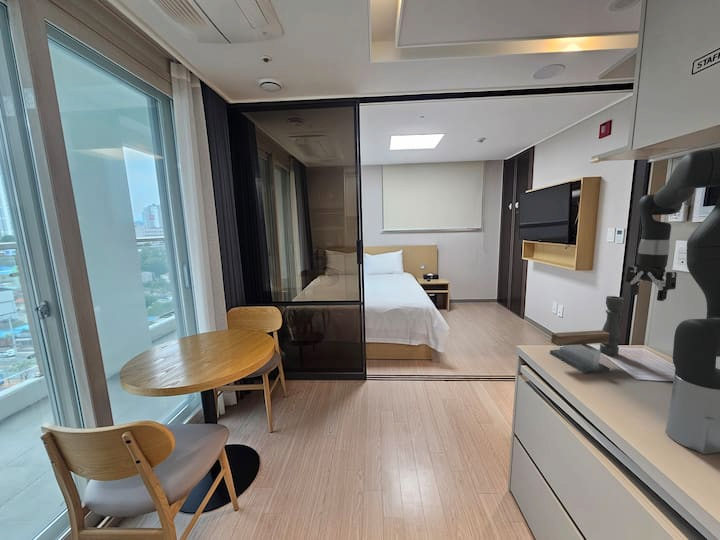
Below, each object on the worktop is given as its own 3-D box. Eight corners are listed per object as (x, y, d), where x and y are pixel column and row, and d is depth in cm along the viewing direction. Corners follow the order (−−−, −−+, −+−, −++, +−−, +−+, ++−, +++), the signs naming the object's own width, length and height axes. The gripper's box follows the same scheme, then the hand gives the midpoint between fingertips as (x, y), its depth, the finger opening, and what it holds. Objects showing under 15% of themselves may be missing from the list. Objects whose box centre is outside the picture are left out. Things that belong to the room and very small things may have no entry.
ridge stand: (609, 371, 112) (611, 351, 110) (586, 374, 110) (588, 353, 109) (570, 351, 129) (571, 333, 128) (549, 353, 128) (551, 335, 127)
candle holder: (621, 356, 124) (629, 299, 120) (607, 356, 124) (613, 299, 120) (609, 349, 130) (616, 295, 126) (595, 349, 130) (601, 296, 126)
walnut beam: (608, 342, 118) (609, 333, 117) (557, 345, 116) (558, 336, 115) (601, 339, 121) (602, 330, 121) (551, 342, 120) (552, 333, 119)
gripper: (687, 254, 95) (679, 302, 97) (640, 250, 109) (635, 292, 111) (667, 255, 94) (660, 303, 96) (622, 251, 108) (617, 293, 110)
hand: (646, 297), depth 104 cm, fingers open, 8 cm apart
